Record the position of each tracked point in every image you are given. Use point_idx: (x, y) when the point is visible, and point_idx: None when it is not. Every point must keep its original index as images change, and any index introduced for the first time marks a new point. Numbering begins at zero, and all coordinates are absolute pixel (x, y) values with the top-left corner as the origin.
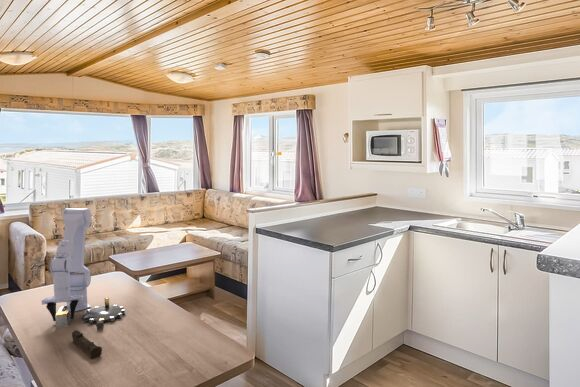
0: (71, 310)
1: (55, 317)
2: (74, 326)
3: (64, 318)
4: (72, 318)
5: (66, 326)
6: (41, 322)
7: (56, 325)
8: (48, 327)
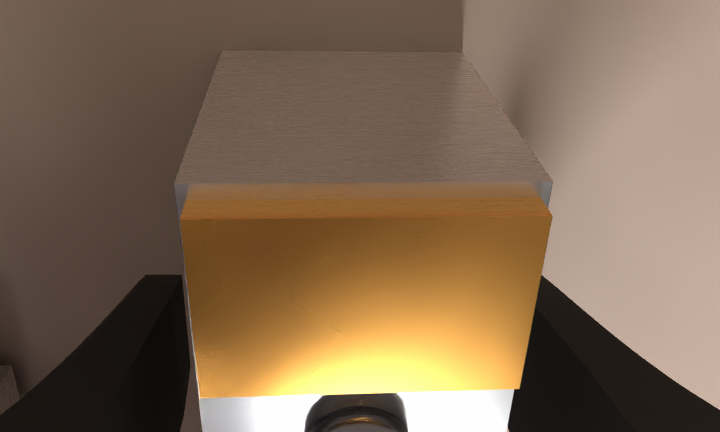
0: (75, 421)
1: (536, 160)
2: (51, 14)
3: (265, 135)
4: (141, 283)
5: (239, 50)
6: (717, 371)
7: (461, 68)
8: (611, 129)
